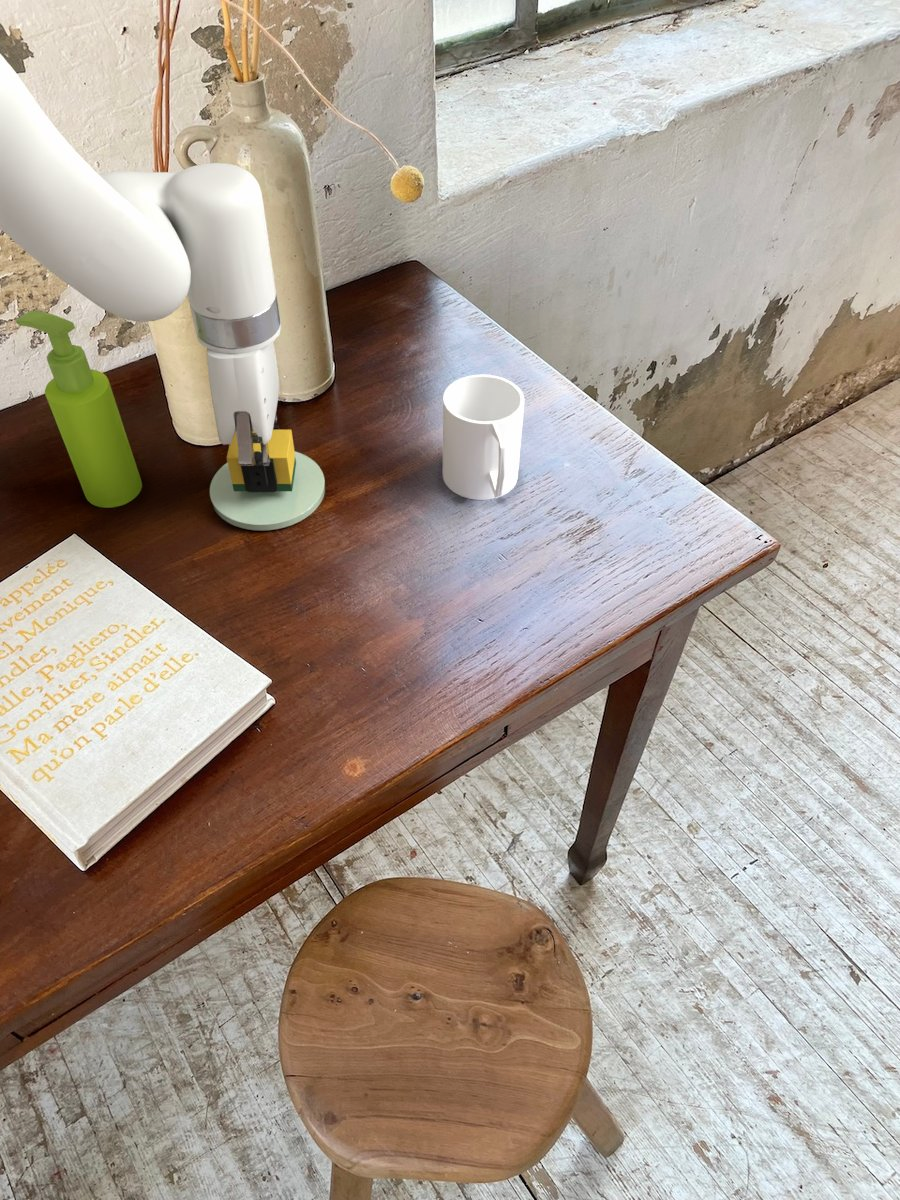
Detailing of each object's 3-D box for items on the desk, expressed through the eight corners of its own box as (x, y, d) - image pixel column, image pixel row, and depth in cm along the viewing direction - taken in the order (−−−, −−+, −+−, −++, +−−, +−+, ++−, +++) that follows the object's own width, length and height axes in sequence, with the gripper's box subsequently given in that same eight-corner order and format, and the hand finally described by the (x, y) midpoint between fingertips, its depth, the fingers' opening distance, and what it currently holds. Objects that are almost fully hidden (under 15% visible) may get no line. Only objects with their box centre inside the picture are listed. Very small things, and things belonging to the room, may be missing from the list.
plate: (203, 533, 92) (200, 524, 91) (220, 456, 100) (218, 448, 99) (321, 532, 92) (320, 524, 91) (329, 456, 100) (328, 447, 99)
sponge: (233, 491, 93) (226, 457, 89) (239, 463, 96) (232, 429, 92) (292, 491, 93) (287, 457, 89) (296, 463, 96) (291, 429, 92)
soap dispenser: (102, 462, 99) (42, 295, 84) (153, 481, 97) (101, 314, 82) (65, 494, 95) (-5, 326, 80) (117, 514, 93) (56, 346, 78)
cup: (460, 529, 93) (462, 453, 85) (435, 455, 100) (435, 379, 93) (537, 518, 94) (545, 442, 86) (506, 445, 101) (512, 370, 94)
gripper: (208, 267, 86) (239, 422, 99) (176, 371, 74) (216, 530, 88) (288, 267, 86) (308, 422, 99) (268, 372, 75) (293, 530, 88)
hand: (265, 471), depth 94 cm, fingers closed on sponge, 4 cm apart
